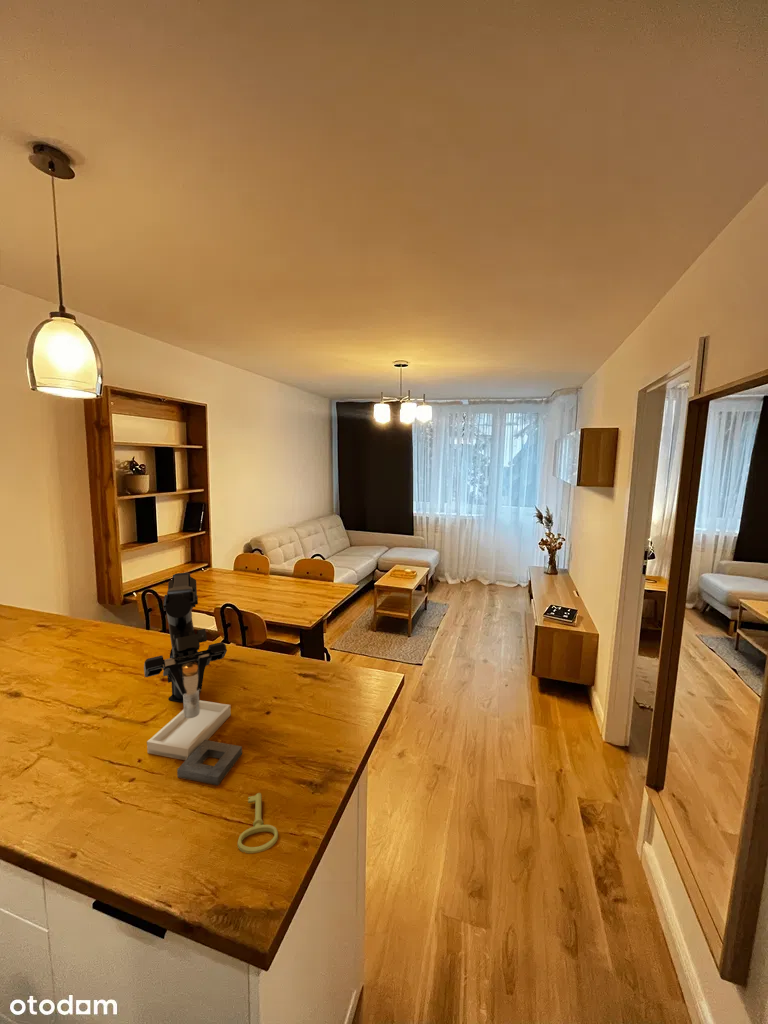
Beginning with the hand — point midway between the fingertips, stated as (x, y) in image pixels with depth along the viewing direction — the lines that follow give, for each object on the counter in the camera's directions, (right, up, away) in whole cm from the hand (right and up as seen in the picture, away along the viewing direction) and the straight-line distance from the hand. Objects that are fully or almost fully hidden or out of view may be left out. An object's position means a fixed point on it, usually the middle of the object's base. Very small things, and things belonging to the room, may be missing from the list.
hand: (192, 692), depth 104 cm
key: (+23, -18, -21) cm, 36 cm away
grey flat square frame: (+7, -15, -6) cm, 17 cm away
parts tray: (-2, -13, +5) cm, 14 cm away
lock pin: (-1, -6, +2) cm, 7 cm away
